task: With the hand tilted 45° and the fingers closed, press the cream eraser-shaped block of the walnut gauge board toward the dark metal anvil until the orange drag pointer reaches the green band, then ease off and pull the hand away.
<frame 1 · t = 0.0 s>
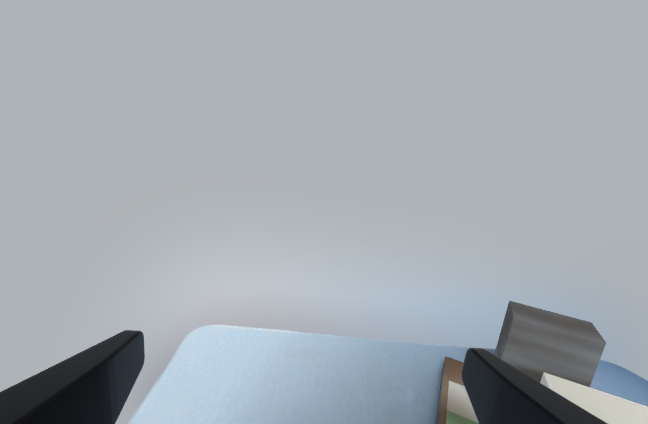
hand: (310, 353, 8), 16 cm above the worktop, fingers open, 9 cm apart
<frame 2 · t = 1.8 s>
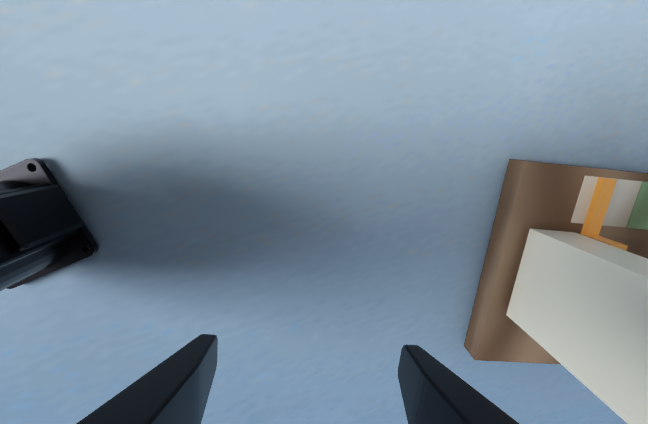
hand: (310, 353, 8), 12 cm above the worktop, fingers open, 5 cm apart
drag pointer: (607, 224, 18), point 3 cm above the worktop, slide at 0.0 cm
cream eraser-shaped block: (642, 316, 16), point 7 cm above the worktop, slide at 0.0 cm
gauge board: (602, 268, 22), on the worktop
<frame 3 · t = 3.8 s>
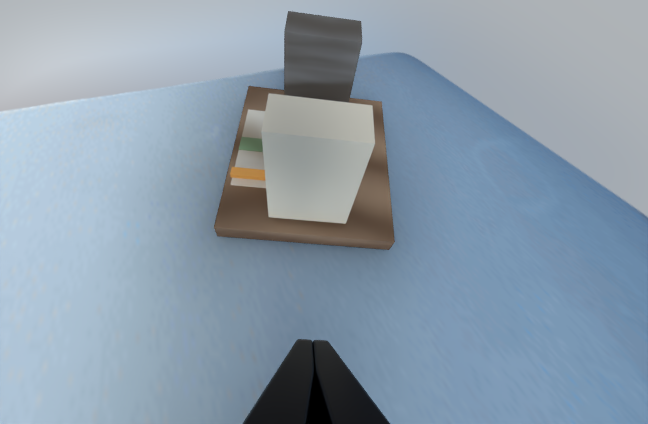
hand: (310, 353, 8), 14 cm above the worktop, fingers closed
drag pointer: (262, 168, 24), point 3 cm above the worktop, slide at 0.0 cm
cream eraser-shaped block: (314, 146, 22), point 6 cm above the worktop, slide at 0.0 cm
gauge board: (311, 158, 30), on the worktop
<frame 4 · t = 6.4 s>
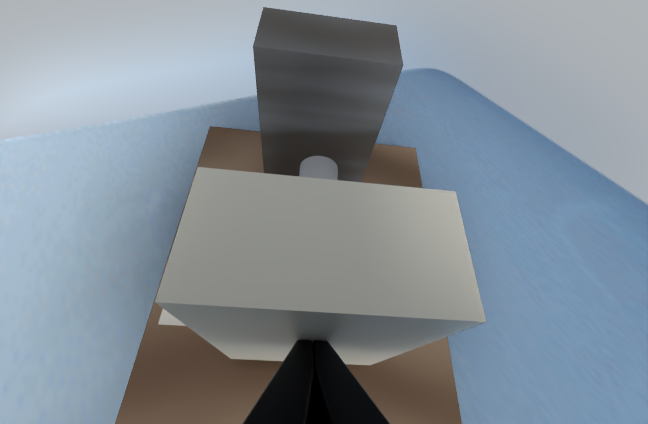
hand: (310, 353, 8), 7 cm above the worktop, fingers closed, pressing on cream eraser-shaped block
cream eraser-shaped block: (314, 243, 11), point 7 cm above the worktop, slide at 1.7 cm, touching drag pointer, gripper
gauge board: (307, 247, 18), on the worktop
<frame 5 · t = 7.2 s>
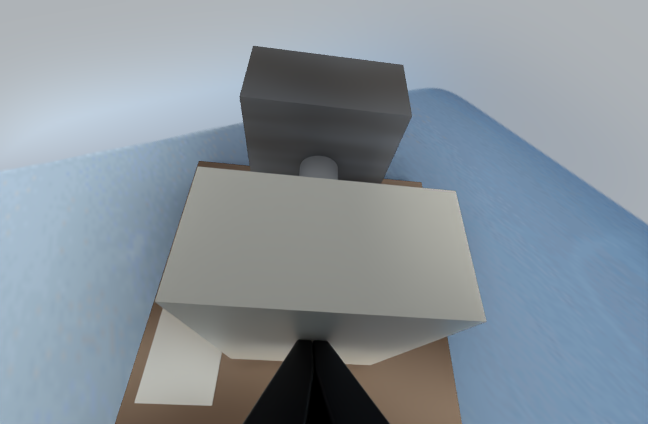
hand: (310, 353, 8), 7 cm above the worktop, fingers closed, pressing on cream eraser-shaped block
cream eraser-shaped block: (314, 243, 11), point 6 cm above the worktop, slide at 4.7 cm, touching drag pointer, gripper
gauge board: (304, 298, 17), on the worktop
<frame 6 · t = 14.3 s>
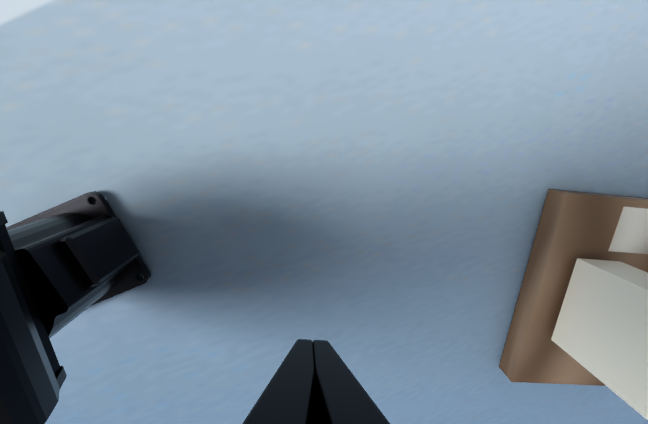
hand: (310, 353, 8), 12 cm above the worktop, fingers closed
gauge board: (635, 292, 23), on the worktop
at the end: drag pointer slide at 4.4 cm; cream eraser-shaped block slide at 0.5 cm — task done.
